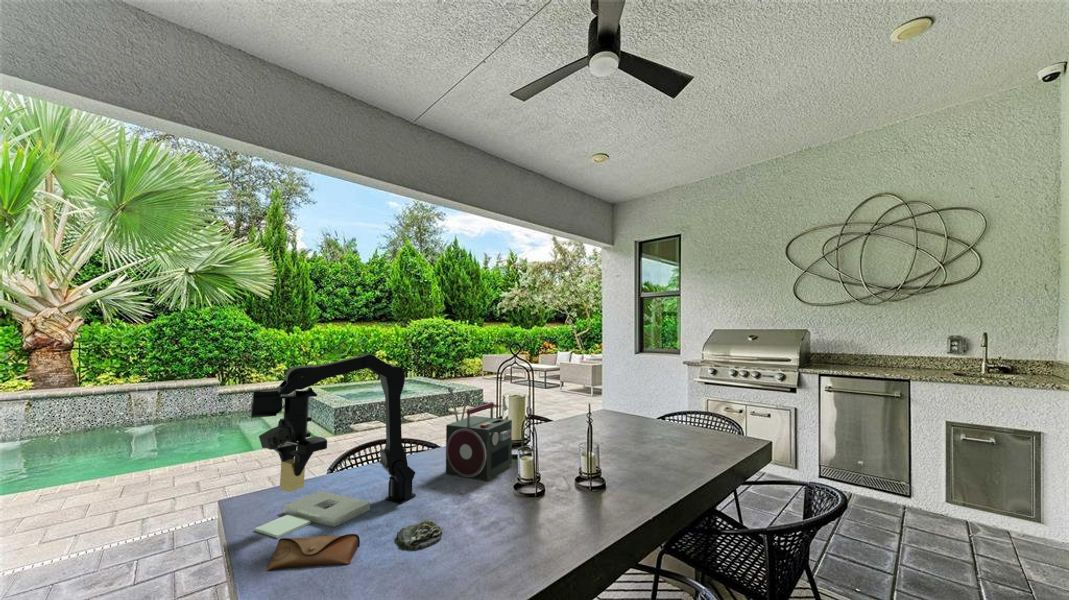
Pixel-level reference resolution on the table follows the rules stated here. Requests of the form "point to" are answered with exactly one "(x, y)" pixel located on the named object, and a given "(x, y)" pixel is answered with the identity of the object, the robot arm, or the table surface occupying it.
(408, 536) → the mossy grey rock
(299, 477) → the brass peg
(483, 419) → the boombox
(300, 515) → the aluminium plate
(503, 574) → the table surface
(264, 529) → the sage mat
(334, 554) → the sunglasses case
